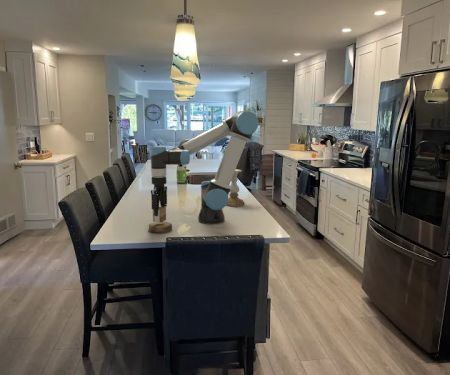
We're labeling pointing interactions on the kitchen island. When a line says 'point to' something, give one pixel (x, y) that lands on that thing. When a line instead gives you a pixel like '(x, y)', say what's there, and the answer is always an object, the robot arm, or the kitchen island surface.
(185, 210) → the kitchen island surface
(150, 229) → the plinth
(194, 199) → the kitchen island surface
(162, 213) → the walnut block
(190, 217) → the kitchen island surface
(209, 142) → the robot arm
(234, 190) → the candle holder
